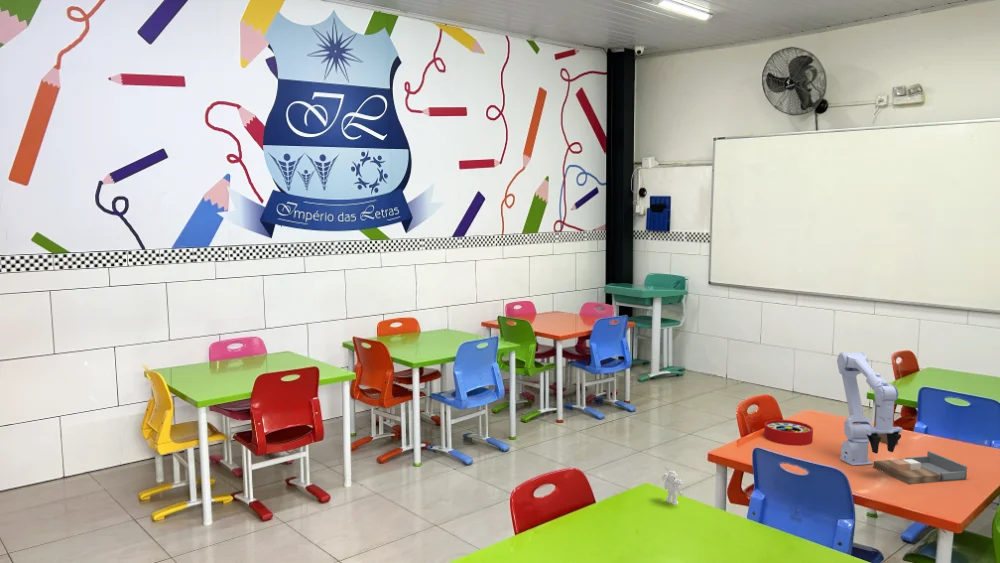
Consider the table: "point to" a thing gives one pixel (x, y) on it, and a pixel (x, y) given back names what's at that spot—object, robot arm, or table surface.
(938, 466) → the gray box
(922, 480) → the walnut board
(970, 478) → the table surface
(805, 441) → the toy clock
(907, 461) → the cream tile
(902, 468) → the terracotta tile
